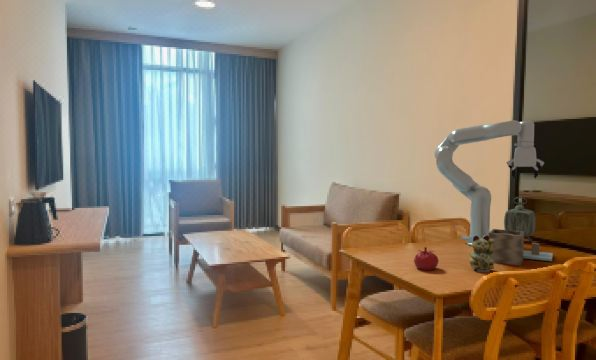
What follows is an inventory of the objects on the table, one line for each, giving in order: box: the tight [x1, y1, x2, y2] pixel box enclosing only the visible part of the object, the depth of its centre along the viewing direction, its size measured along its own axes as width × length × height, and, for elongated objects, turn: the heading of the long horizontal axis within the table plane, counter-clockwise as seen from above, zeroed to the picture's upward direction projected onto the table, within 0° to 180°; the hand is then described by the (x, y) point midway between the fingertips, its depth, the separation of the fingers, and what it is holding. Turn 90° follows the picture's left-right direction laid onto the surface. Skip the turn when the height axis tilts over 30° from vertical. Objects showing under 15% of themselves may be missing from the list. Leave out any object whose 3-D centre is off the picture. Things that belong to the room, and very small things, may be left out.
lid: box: [523, 242, 553, 262], centre depth 193 cm, size 14×14×6 cm
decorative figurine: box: [468, 235, 495, 273], centre depth 172 cm, size 10×8×15 cm
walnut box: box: [489, 228, 525, 266], centre depth 187 cm, size 13×13×13 cm
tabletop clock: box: [503, 196, 537, 243], centre depth 230 cm, size 14×9×25 cm, turn 49°
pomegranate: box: [413, 246, 440, 271], centre depth 174 cm, size 10×10×9 cm
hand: (524, 177), depth 216 cm, fingers open, 9 cm apart
